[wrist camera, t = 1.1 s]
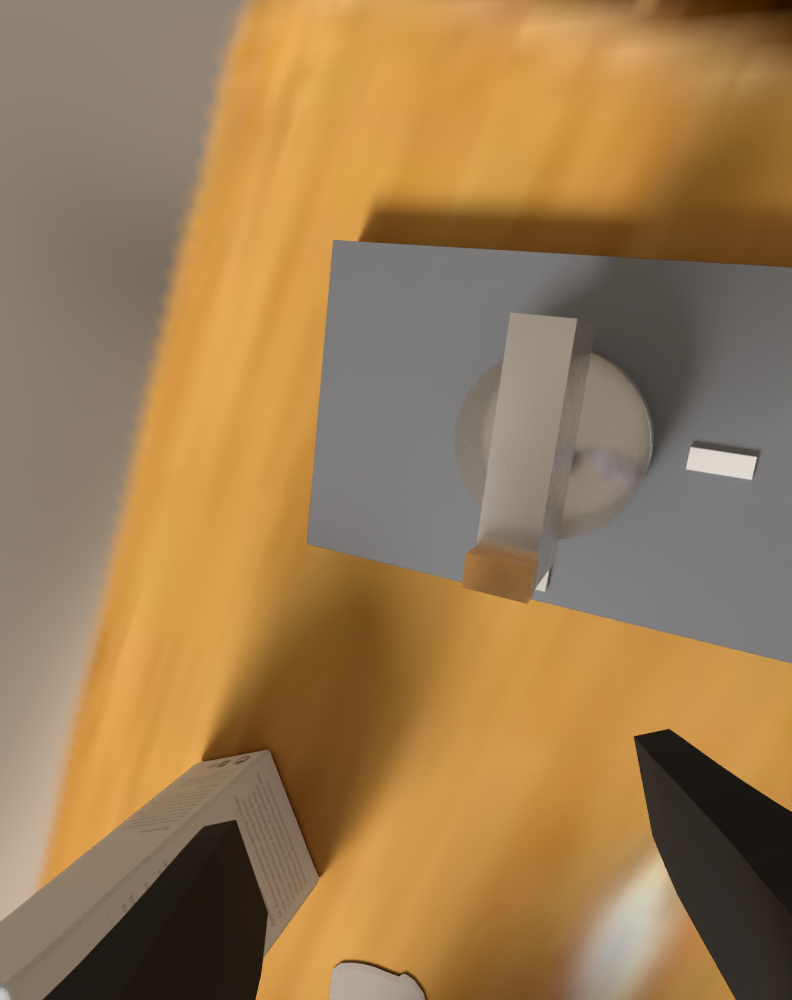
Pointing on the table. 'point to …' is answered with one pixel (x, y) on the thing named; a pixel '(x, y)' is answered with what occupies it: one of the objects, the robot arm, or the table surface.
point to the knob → (547, 450)
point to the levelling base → (618, 337)
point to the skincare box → (157, 869)
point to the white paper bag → (371, 984)
